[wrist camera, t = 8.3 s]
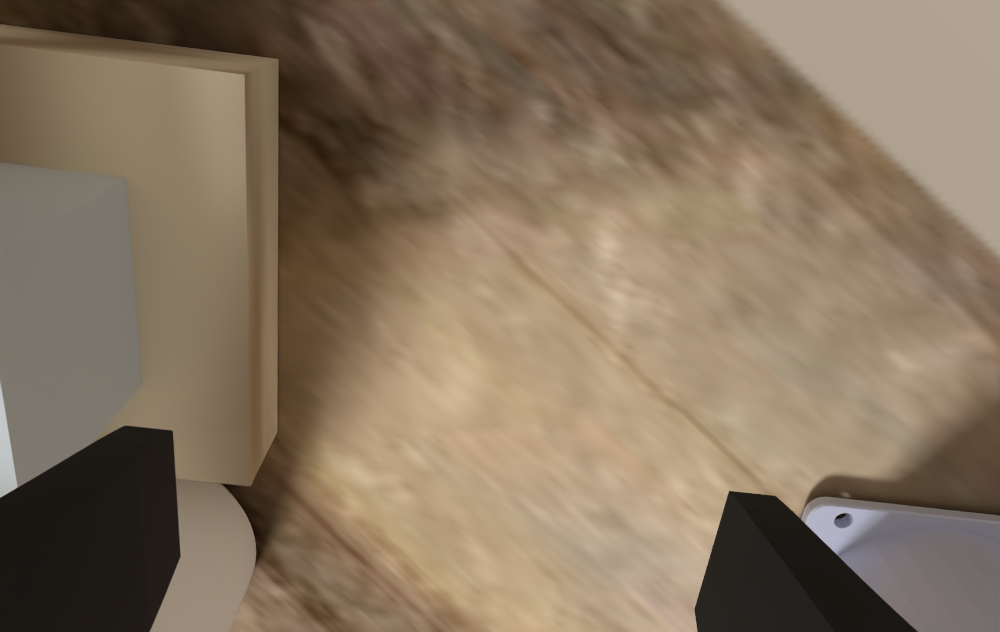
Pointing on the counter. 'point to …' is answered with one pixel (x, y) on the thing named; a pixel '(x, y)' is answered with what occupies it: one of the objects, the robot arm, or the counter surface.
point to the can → (208, 561)
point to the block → (62, 315)
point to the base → (173, 220)
